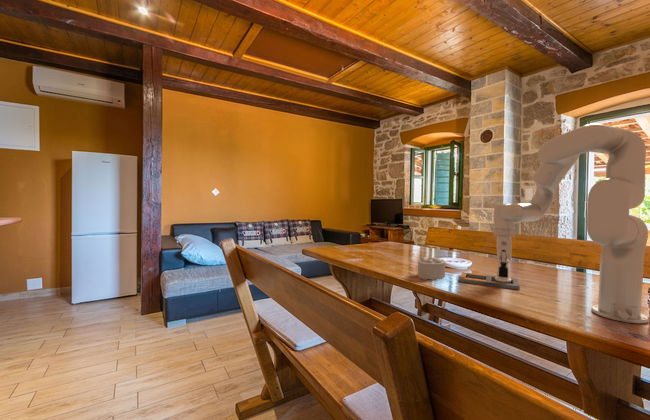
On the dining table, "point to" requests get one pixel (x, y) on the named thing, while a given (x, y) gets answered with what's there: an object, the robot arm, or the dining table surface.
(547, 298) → the dining table surface
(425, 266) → the lumpy-topped squat cylinder
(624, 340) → the dining table surface
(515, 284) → the grey slotted board
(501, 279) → the flanged peg
